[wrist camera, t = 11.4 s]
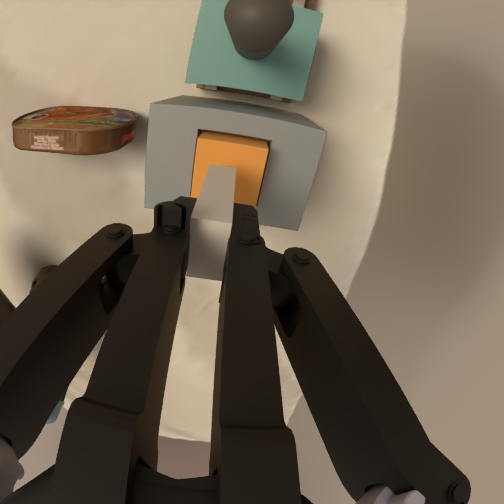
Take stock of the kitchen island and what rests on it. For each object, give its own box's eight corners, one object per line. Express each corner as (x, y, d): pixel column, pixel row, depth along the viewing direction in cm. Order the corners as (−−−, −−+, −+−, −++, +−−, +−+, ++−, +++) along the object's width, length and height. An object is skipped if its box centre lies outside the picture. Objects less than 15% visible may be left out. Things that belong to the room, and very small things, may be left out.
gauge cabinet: (174, 167, 28) (144, 207, 20) (182, 95, 24) (150, 103, 15) (286, 184, 30) (303, 231, 21) (304, 115, 25) (333, 133, 17)
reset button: (197, 185, 20) (190, 201, 18) (204, 129, 18) (197, 138, 16) (253, 193, 21) (254, 211, 19) (265, 139, 18) (268, 149, 16)
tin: (149, 111, 24) (115, 125, 17) (145, 139, 26) (111, 163, 19) (43, 105, 22) (-3, 121, 15) (42, 129, 24) (-2, 150, 17)
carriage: (294, 98, 22) (339, 116, 11) (194, 82, 21) (143, 85, 10) (312, 22, 17) (370, -21, 6) (210, 5, 16) (177, -55, 5)
